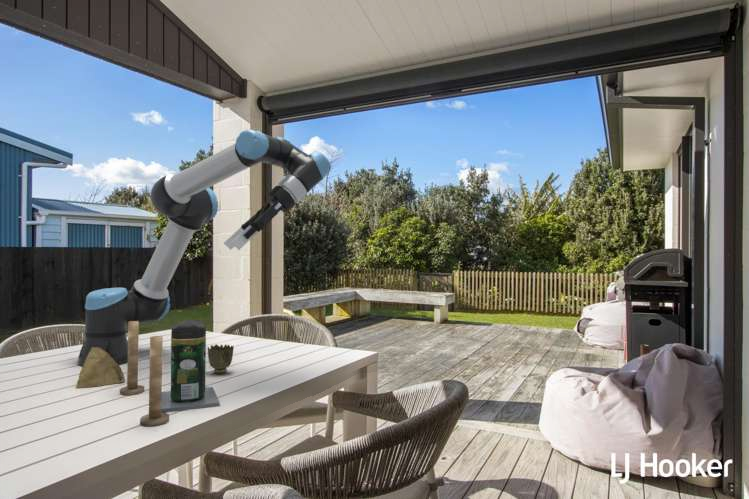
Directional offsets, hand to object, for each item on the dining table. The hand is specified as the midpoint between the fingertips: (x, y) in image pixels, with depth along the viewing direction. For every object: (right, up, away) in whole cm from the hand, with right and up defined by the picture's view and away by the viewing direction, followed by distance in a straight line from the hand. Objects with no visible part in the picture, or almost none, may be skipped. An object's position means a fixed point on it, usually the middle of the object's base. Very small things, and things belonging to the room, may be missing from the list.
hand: (230, 246), depth 128 cm
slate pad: (-7, -38, -12) cm, 40 cm away
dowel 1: (-23, -37, -6) cm, 44 cm away
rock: (-35, -37, 0) cm, 51 cm away
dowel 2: (-8, -37, -27) cm, 47 cm away
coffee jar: (-7, -37, -12) cm, 39 cm away
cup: (-7, -38, +14) cm, 41 cm away
